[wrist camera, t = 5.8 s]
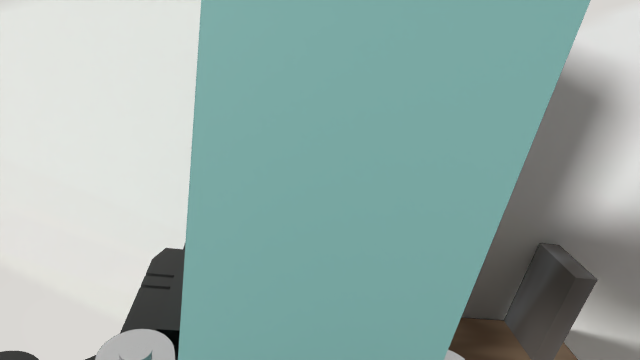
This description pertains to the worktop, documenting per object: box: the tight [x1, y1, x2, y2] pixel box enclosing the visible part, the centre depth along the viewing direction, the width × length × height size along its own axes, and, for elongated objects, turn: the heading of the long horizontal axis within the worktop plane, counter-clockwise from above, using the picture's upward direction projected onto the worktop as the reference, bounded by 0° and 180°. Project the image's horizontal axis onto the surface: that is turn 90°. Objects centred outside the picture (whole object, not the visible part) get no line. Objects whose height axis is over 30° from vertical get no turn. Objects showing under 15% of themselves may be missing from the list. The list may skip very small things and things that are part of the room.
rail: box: [178, 0, 590, 360], centre depth 10 cm, size 4×16×6 cm, turn 170°
